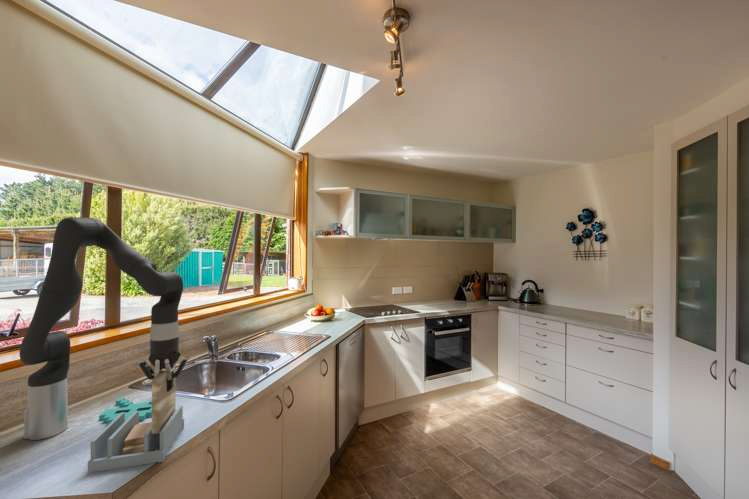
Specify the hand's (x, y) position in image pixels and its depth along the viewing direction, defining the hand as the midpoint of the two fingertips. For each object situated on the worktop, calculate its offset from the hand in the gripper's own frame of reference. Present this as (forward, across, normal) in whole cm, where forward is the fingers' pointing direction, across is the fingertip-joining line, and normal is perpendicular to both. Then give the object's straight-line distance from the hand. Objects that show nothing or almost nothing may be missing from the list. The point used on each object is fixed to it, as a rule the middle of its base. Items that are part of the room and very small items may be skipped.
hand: (164, 390), depth 99 cm
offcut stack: (+17, -6, 0) cm, 18 cm away
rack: (+17, -6, 0) cm, 18 cm away
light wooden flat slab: (+10, 0, 0) cm, 10 cm away
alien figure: (+18, -18, +25) cm, 36 cm away
